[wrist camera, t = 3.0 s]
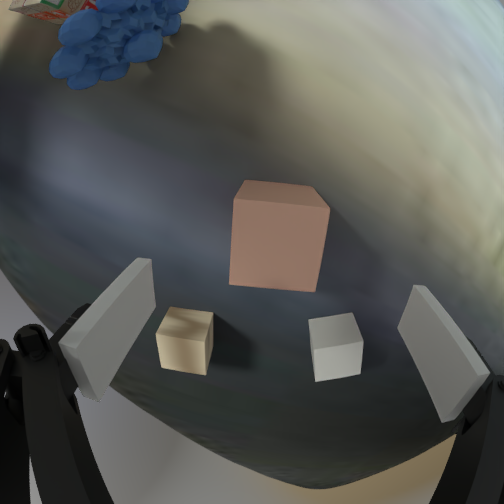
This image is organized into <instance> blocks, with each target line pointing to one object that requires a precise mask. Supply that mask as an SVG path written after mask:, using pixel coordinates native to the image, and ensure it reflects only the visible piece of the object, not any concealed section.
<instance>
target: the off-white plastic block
mask: <svg viewBox="0 0 504 504" xmlns="http://www.w3.org/2000/svg"><path fill="white" fill-rule="evenodd" d="M308 321H309V332H310V344H311V354H312V361H313V368H314V375H315V382H317V381H323V380H330V379H336V378H341V377H347V376H352V375H357V374H360V373H361V363H362V353H363V338H362V336H361V333H360V331H359V328H358V325H357V323H356V320H355V318H354V315H353V313H346V314H340V315H334V316H328V317H321V318H315V319H308Z"/></svg>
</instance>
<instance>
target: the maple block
mask: <svg viewBox="0 0 504 504" xmlns="http://www.w3.org/2000/svg"><path fill="white" fill-rule="evenodd" d="M156 339H157V345H158V351H159V356H160V362H161V367H162V368H167V369H172V370H177V371H183V372H189V373H195V374H201V375H206V372H207V368H208V364H209V360H210V356H211V352H212V349H213V313H212V312H204V311H197V310H190V309H182V308H176V307H170V308H169V309H168V311H167V313H166V315H165V317H164V319H163V321H162V323H161V325H160V327H159V329H158V330H157V332H156Z"/></svg>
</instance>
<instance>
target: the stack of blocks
mask: <svg viewBox="0 0 504 504" xmlns="http://www.w3.org/2000/svg"><path fill="white" fill-rule="evenodd" d="M95 4H96V0H13V2H12V4H11V5H10V7H9V10H11V11H15V12H18V13H22V14H27V15H28V16H31V17H35V18H38V19H42V20H45V21H49V22H52V23H55V24H63V23H64V21H65V20H66V19H67V18H68V17H70V16H71V15H72V14H74V13H76V12H78V11H80V10H85V9H94V10H97V11H98V8H97V7H96V5H95Z"/></svg>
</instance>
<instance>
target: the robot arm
mask: <svg viewBox="0 0 504 504" xmlns="http://www.w3.org/2000/svg"><path fill="white" fill-rule="evenodd" d="M155 307H156V304H155V295H154V286H153V275H152V264H151V259H145V258H136V259H135V260H134V261H133V262H132V263H131V264H130V265H129V266H128V267H127V268H126V269H125V270H124V271H123V272H122V273H121V274H120V275H119V276H118V277H117V278H116V280H115V281H114V282H113V283H112V284H111V285H110V286H109V287H108V288H107V289H106V290H105V291H104V292H103V293H102V294H101V295H100V296H99V297H98V298H97V299H96V301H95V302H94V303H93V304H88V303H87V304H85V305H83V306H81V307H80V308H78V309H77V310H76V311H75V312H74V313H73V314H72V315H71V317H69V318H68V319H67V320H66V322H65V323H64V324H63V325H62V326H61V327H60V328H59V329H58V330H57V331H56V333H55V334H54V335H53V336H52V337H51V338H50V339H48V337H47V334H46V332H45V330H44V328H43V327H42V326H41V325H38V324H29V325H26V326H23V327H22V328H20V329H19V330H18V331H17V332H16V333H15V336H14V338H13V339H14V341H15V344H16V346H17V348H18V350H19V351H14V350H12V349H11V347H10V345H9V343H8V342H7V341H6V340H4V339H0V504H30V503H31V502H30V485H29V484H30V483H29V459H30V458H31V463H32V467H33V472H34V476H35V480H36V484H37V487H38V491H39V495H40V498H41V501H42V504H114V502H113V500H112V498H111V496H110V494H109V492H108V490H107V487H106V485H105V483H104V480H103V478H102V476H101V473H100V471H99V469H98V466H97V463H96V461H95V458H94V455H93V452H92V450H91V447H90V444H89V441H88V438H87V435H86V431H85V428H84V425H83V421H82V418H81V414H80V410H79V406H78V403H77V398H76V396H75V394H74V392H75V390H76V389H77V387H79V389H80V391H81V393H82V395H83V396H84V397H87V398H89V399H92V400H95V401H97V402H100V400H101V398H102V396H103V395H104V393H105V391H106V389H107V387H108V386H109V384H110V382H111V380H112V379H113V377H114V375H115V373H116V372H117V370H118V368H119V367H120V365H121V363H122V361H123V360H124V358H125V356H126V355H127V353H128V351H129V350H130V348H131V346H132V345H133V343H134V341H135V340H136V338H137V336H138V335H139V333H140V331H141V330H142V328H143V326H144V325H145V323H146V322H147V320H148V318H149V317H150V315H151V314H152V312H153V310H154V309H155ZM397 329H398V331H399V333H400V335H401V336H402V338H403V340H404V342H405V344H406V346H407V348H408V350H409V352H410V354H411V356H412V358H413V360H414V362H415V364H416V366H417V368H418V370H419V372H420V374H421V376H422V379H423V381H424V383H425V385H426V387H427V389H428V392H429V394H430V396H431V398H432V401H433V403H434V405H435V408H436V410H437V412H438V415H439V417H440V420H441V422H442V423H443V422H447V421H451V420H454V419H455V418H456V417H457V416H458V415H459V414H460V413H461V411H462V410H463V412H464V414H465V416H464V417H463V418H462V419H461V420H460V421H459V423H458V424H457V425H456V426H455V427H454V428H453V429H452V431H451V432H452V433H453V432H454V431H455V430H456V429H457V428H458V432H457V433H456V434H457V435H456V438H455V441H454V445H453V448H452V450H451V453H450V456H449V459H448V462H447V464H446V467H445V469H444V472H443V474H442V477H441V479H440V481H439V483H438V486H437V488H436V490H435V492H434V494H433V496H432V499H431V501H430V503H429V504H504V376H503V375H497V376H495V374H494V373H493V371H492V370H491V368H490V367H489V365H488V364H487V362H486V361H485V359H484V358H483V356H481V353H480V352H479V351H478V350H477V348H476V346H475V345H474V344H473V342H472V341H471V340H470V339H469V338H467V337H466V336H465V335H464V334H463V333H462V331H461V330H460V329H459V327H458V326H457V325H456V323H455V322H454V321H453V319H452V318H451V317H450V316H449V314H448V313H447V312H446V311H445V309H444V308H443V307H442V306H441V304H440V303H439V302H438V301H437V299H436V298H435V297H434V296H433V295H432V293H431V292H430V291H429V290H428V289H427V287H426V286H423V285H413V288H412V291H411V294H410V297H409V299H408V302H407V305H406V307H405V310H404V312H403V315H402V317H401V320H400V322H399V325H398V327H397ZM5 392H6V395H5V398H4V394H5Z"/></svg>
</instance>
